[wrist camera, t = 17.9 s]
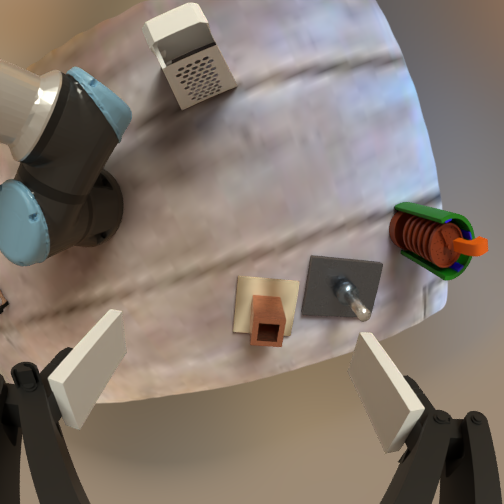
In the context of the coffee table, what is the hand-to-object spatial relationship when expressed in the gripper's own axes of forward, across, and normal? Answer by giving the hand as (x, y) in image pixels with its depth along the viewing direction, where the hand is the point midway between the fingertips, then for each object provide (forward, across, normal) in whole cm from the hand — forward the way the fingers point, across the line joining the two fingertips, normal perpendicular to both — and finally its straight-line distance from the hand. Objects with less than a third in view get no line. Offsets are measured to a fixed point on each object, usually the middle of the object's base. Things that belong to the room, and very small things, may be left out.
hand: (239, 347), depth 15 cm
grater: (+37, -11, +27) cm, 47 cm away
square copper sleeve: (+36, +5, -14) cm, 39 cm away
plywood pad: (+37, +5, -14) cm, 40 cm away
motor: (+37, +31, +4) cm, 48 cm away
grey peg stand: (+37, +19, -9) cm, 42 cm away
